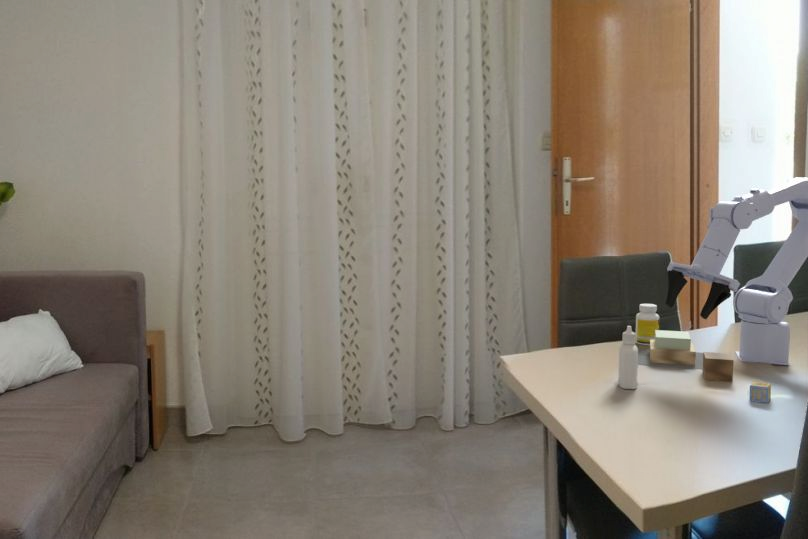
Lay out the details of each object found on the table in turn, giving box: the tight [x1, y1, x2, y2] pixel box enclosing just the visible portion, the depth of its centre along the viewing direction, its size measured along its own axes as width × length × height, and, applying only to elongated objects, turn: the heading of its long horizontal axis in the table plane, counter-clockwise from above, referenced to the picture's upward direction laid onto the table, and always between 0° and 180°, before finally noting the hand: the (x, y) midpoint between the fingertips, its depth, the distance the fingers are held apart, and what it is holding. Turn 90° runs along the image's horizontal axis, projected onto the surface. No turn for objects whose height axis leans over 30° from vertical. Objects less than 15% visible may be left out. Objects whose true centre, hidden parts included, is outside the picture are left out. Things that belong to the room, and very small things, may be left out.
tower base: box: [649, 339, 697, 365], centre depth 147 cm, size 9×9×3 cm
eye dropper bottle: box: [617, 325, 639, 390], centre depth 129 cm, size 4×6×12 cm
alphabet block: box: [749, 381, 772, 404], centre depth 121 cm, size 3×3×3 cm
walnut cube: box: [702, 351, 734, 383], centre depth 133 cm, size 5×5×5 cm
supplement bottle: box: [634, 303, 660, 346], centre depth 161 cm, size 5×5×10 cm
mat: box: [638, 348, 703, 370], centre depth 147 cm, size 16×14×1 cm
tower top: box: [655, 329, 692, 350], centre depth 146 cm, size 7×7×2 cm
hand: (685, 311), depth 137 cm, fingers open, 7 cm apart
